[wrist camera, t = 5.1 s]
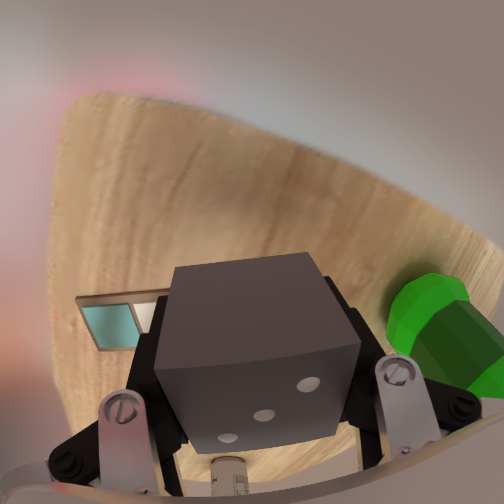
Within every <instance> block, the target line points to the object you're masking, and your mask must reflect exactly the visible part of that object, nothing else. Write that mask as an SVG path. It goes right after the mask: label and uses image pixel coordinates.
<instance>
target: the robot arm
mask: <svg viewBox="0 0 504 504" xmlns="http://www.w3.org/2000/svg"><path fill="white" fill-rule="evenodd" d="M323 278H324V279H325V281H326V282H327V284H328V286H329V287H330V289H331V291H332V292H333V294H334V296H335V297H336V299H337V301H338V302H339V304H340V306H341V308H342V309H343V311H344V313H345V314H346V316H347V318H348V319H349V321H350V323H351V325H352V326H353V328H354V330H355V332H356V333H357V335H358V337H359V339H360V340H361V346H360V350H359V354H358V359H357V363H356V366H355V370H354V374H353V378H352V381H351V385H350V389H349V392H348V396H347V399H346V402H345V406H344V409H343V412H342V415H341V418H340V421H339V423H341V422H345V421H348V422H349V424H350V425H352V426H355V435H356V445H357V457H358V470H359V472H357V473H354V474H350V475H347V476H343V477H339V478H336V479H332V480H328V481H324V482H320V483H316V484H311V485H306V486H302V487H297V488H291V489H285V490H279V491H272V492H265V493H257V494H247V495H235V496H218V497H187V494H186V490H185V487H184V483H183V479H182V476H181V472H180V468H179V464H178V460H177V456H176V452H177V451H178V450H179V449H180V448H181V444H188V437H187V435H186V433H185V431H184V430H183V428H182V426H181V424H180V422H179V420H178V418H177V417H176V415H175V413H174V411H173V409H172V407H171V405H170V403H169V401H168V399H167V397H166V395H165V393H164V391H163V389H162V386H161V384H160V382H159V380H158V378H157V376H156V374H155V371H154V364H155V359H156V353H157V348H158V343H159V338H160V333H161V328H162V323H163V318H164V314H165V309H166V304H167V300H168V296H169V295H163V296H158V299H157V303H156V306H155V310H154V314H153V317H152V321H151V325H150V329H149V333H141V334H140V336H139V339H138V343H137V346H136V350H135V354H134V358H133V361H132V365H131V369H130V373H129V377H128V381H127V385H126V389H124V390H117V391H114V392H112V393H110V394H109V395H107V396H106V397H105V398H104V399H103V400H102V402H101V404H100V406H99V411H98V420H97V421H96V422H94V423H93V424H91V425H90V426H88V427H87V428H85V429H84V430H82V431H81V432H79V433H77V434H76V435H74V436H73V437H71V438H70V439H68V440H67V441H65V442H64V443H62V444H60V445H59V446H57V447H56V448H55V449H54V450H53V451H52V453H51V454H50V456H49V459H48V460H46V459H45V458H41V459H39V460H36V461H34V462H31V463H28V464H26V465H23V466H20V467H17V468H15V469H12V470H9V471H7V472H5V473H3V475H2V476H1V478H0V492H1V496H2V499H3V503H2V504H504V399H498V398H488V397H482V398H481V399H480V400H479V399H478V398H477V396H476V395H474V394H473V393H472V392H470V391H467V390H464V389H461V388H457V387H454V386H451V385H447V384H444V383H441V382H437V381H434V380H431V379H428V378H424V376H422V373H421V371H420V368H419V366H418V365H417V363H416V362H415V361H414V360H413V359H411V358H409V357H408V356H405V355H401V354H391V355H386V354H385V352H384V351H383V349H382V347H381V346H380V344H379V343H378V341H377V339H376V338H375V336H374V335H373V333H372V332H371V330H370V328H369V327H368V325H367V324H366V322H365V321H364V319H363V318H362V316H361V315H360V313H359V312H358V310H357V309H356V308H354V307H353V308H350V307H349V306H348V304H347V303H346V301H345V300H344V298H343V296H342V295H341V293H340V292H339V290H338V289H337V287H336V286H335V284H334V283H333V281H332V279H331V278H330V277H329V276H325V277H323Z"/></svg>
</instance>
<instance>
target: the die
mask: <svg viewBox="0 0 504 504" xmlns="http://www.w3.org/2000/svg"><path fill="white" fill-rule="evenodd" d="M360 346H361V340H360V339H359V337H358V335H357V333H356V332H355V330H354V328H353V326H352V325H351V323H350V321H349V319H348V318H347V316H346V314H345V313H344V311H343V309H342V308H341V306H340V304H339V302H338V301H337V299H336V297H335V296H334V294H333V292H332V291H331V289H330V287H329V286H328V284H327V282H326V281H325V279H324V278H323V276H322V274H321V273H320V271H319V269H318V268H317V266H316V265H315V263H314V261H313V260H312V258H311V257H310V255H309V253H308V252H304V253H296V254H287V255H278V256H270V257H261V258H253V259H244V260H235V261H226V262H217V263H209V264H200V265H191V266H182V267H175V270H174V274H173V278H172V283H171V287H170V291H169V296H168V300H167V304H166V309H165V314H164V318H163V323H162V328H161V333H160V338H159V343H158V348H157V353H156V359H155V364H154V371H155V374H156V376H157V378H158V380H159V382H160V384H161V386H162V389H163V391H164V393H165V395H166V397H167V399H168V401H169V403H170V405H171V407H172V409H173V411H174V413H175V415H176V417H177V418H178V420H179V422H180V424H181V426H182V428H183V430H184V431H185V433H186V435H187V437H188V439H189V440H190V442H191V444H192V446H193V447H194V449H195V451H196V452H197V454H212V453H228V452H239V451H249V450H258V449H265V448H272V447H279V446H285V445H291V444H296V443H301V442H306V441H311V440H316V439H320V438H324V437H329V436H333V435H335V433H336V430H337V427H338V424H339V421H340V418H341V415H342V412H343V409H344V406H345V402H346V399H347V396H348V392H349V389H350V385H351V381H352V378H353V374H354V370H355V366H356V363H357V359H358V354H359V350H360Z"/></svg>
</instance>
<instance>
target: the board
mask: <svg viewBox="0 0 504 504" xmlns="http://www.w3.org/2000/svg"><path fill="white" fill-rule="evenodd" d="M169 291H170V289H163V290H153V291H142V292H132V293H121V294H109V295H97V296H84V297H76V298H75V301H76V304H77V306H78V308H79V311H80V313H81V315H82V317H83V320H84V322H85V324H86V326H87V328H88V330H89V332H90V334H91V337H92V339H93V341H94V343H95V345H96V347H97V349H98V351H135V350H136V346H137V343H138V339H139V336H140V334H141V333H149V329H150V325H151V321H152V317H153V314H154V310H155V306H156V303H157V299H158V296H163V295H169Z"/></svg>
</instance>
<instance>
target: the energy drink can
mask: <svg viewBox="0 0 504 504" xmlns="http://www.w3.org/2000/svg"><path fill="white" fill-rule="evenodd" d="M211 488H212V497H218V496H235V495H247V494H249V485H248V477H247V469H246V464H244V463H243V462H242V460H241V459H239V458H235V457H223V458H218V459H216V460H215V461H214V463H213V464H212V465H211Z"/></svg>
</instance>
